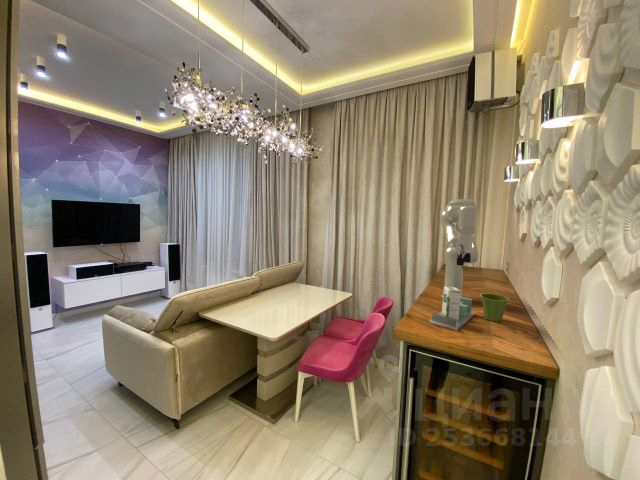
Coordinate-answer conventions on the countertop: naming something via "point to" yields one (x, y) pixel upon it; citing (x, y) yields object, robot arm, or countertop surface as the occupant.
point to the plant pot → (493, 306)
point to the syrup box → (451, 302)
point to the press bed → (459, 322)
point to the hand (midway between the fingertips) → (463, 263)
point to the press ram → (464, 306)
